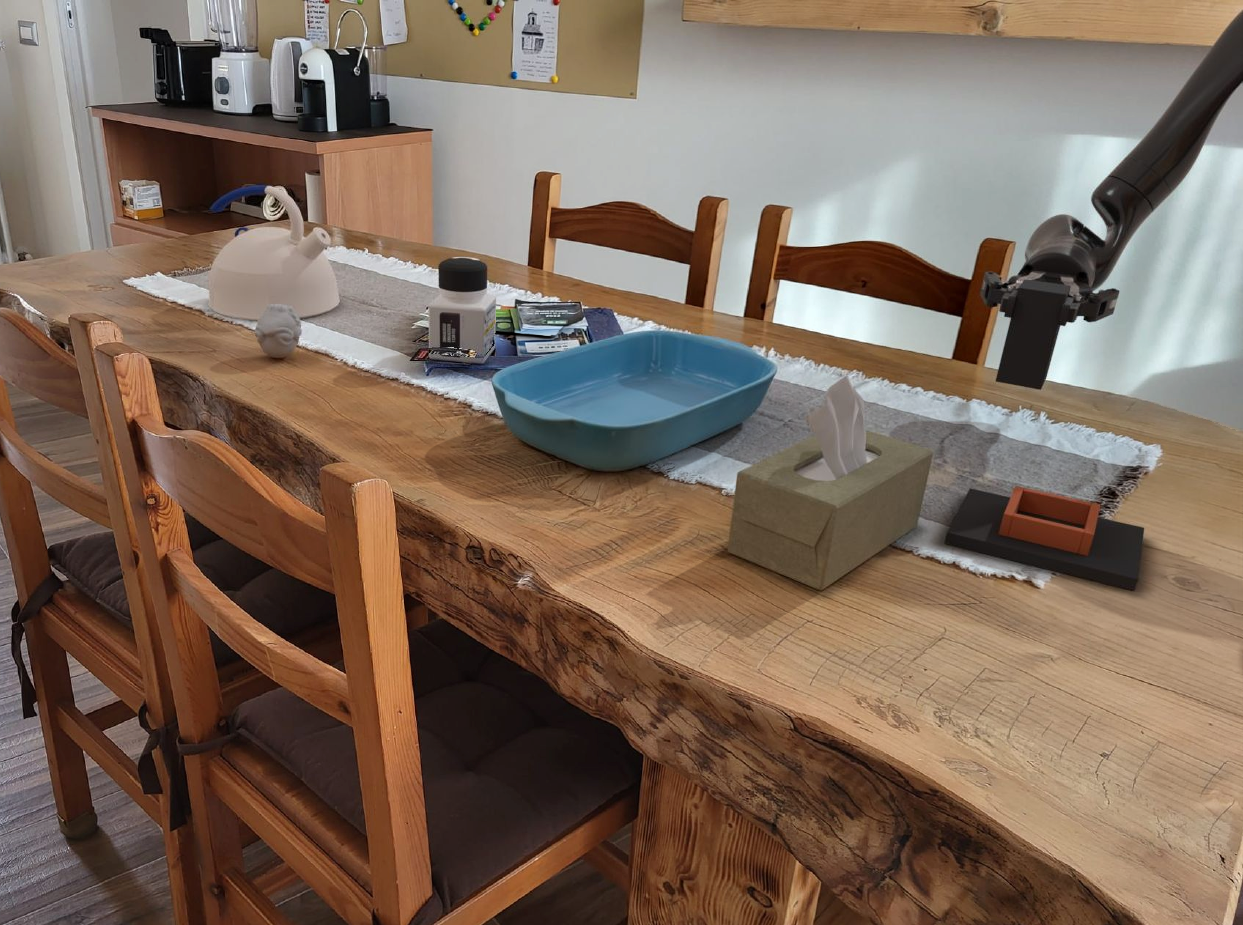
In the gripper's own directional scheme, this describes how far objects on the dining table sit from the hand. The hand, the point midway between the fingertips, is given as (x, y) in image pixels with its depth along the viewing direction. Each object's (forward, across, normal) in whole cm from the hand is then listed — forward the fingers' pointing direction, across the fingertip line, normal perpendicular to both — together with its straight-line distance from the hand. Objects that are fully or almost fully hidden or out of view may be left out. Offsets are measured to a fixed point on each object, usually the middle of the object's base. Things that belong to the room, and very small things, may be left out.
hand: (1036, 311), depth 105 cm
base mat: (+15, -7, -18) cm, 24 cm away
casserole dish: (+10, +38, -18) cm, 44 cm away
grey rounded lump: (+14, +90, -18) cm, 93 cm away
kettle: (-5, +109, -18) cm, 110 cm away
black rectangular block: (-3, 0, -8) cm, 8 cm away
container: (-1, +70, -18) cm, 73 cm away
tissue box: (+26, +11, -18) cm, 34 cm away
